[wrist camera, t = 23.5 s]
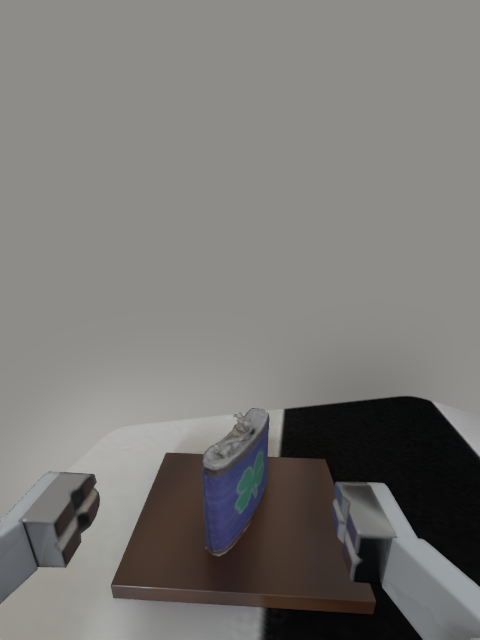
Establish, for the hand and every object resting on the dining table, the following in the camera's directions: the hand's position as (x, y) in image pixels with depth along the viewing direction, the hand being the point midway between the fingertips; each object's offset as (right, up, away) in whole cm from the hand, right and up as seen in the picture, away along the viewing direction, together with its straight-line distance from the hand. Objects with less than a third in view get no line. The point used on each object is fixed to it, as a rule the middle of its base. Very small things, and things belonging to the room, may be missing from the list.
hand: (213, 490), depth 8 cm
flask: (+1, -13, +16) cm, 21 cm away
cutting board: (+1, -14, +17) cm, 22 cm away
